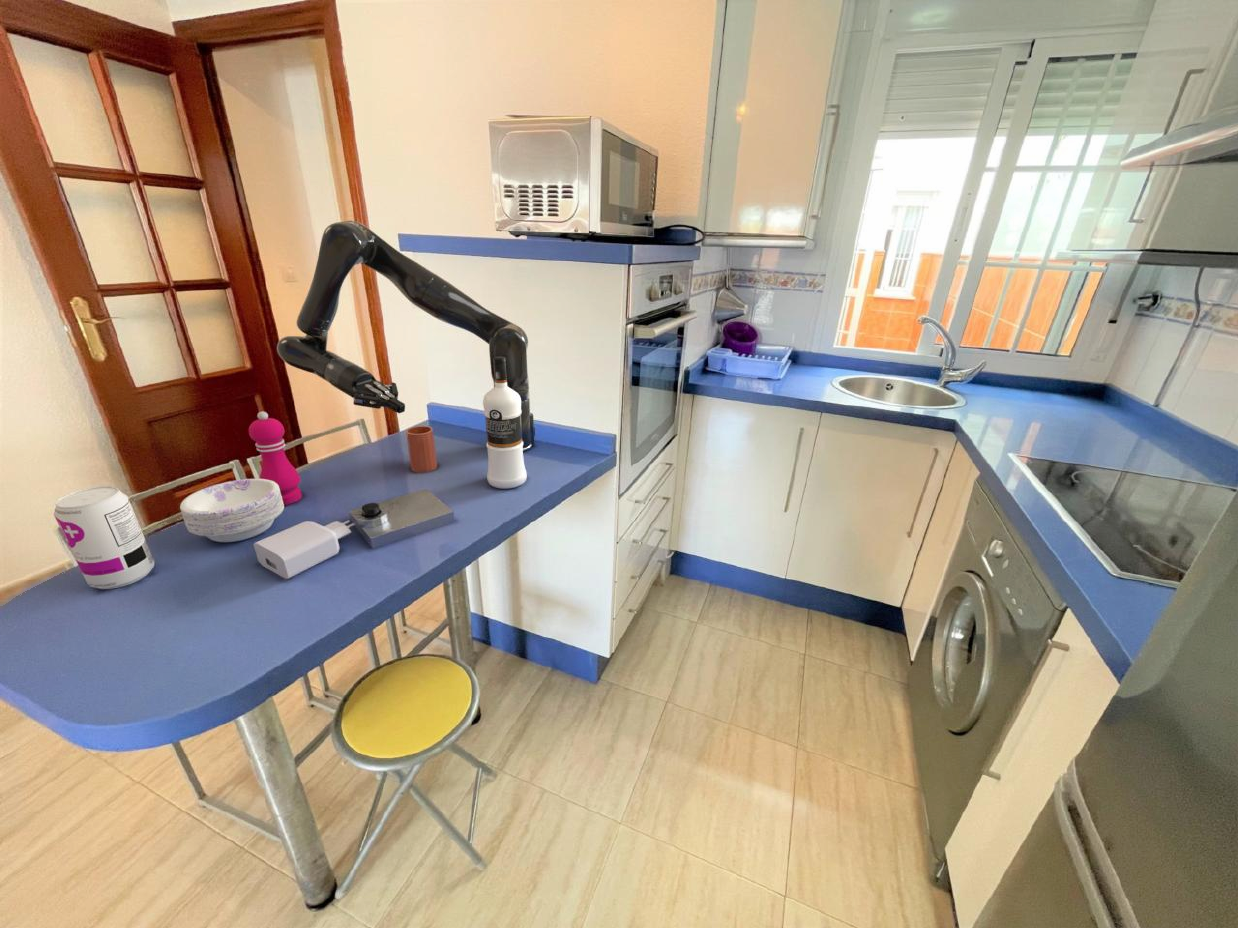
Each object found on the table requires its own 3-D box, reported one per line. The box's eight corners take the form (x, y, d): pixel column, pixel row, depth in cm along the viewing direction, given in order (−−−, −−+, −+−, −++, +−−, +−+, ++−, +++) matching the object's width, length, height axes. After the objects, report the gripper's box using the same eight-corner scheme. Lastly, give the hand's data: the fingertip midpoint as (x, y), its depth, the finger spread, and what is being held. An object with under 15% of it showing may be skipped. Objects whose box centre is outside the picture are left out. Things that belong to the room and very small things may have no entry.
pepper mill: (311, 493, 112) (290, 407, 104) (289, 508, 105) (265, 418, 97) (281, 490, 113) (258, 405, 104) (257, 506, 106) (230, 416, 98)
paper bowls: (258, 504, 107) (248, 470, 103) (305, 522, 101) (296, 487, 98) (174, 538, 94) (160, 500, 91) (222, 560, 88) (208, 521, 85)
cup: (431, 460, 130) (426, 424, 126) (441, 468, 126) (436, 431, 122) (407, 466, 126) (402, 429, 122) (417, 474, 122) (411, 436, 118)
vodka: (534, 477, 123) (528, 355, 111) (513, 493, 115) (505, 363, 103) (501, 471, 126) (493, 351, 114) (479, 485, 118) (468, 358, 106)
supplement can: (99, 598, 78) (59, 514, 72) (82, 579, 82) (42, 499, 76) (164, 572, 85) (132, 493, 79) (144, 556, 89) (112, 480, 83)
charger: (369, 540, 96) (289, 581, 84) (339, 526, 100) (259, 564, 88) (365, 518, 94) (282, 557, 82) (334, 505, 98) (251, 541, 86)
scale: (428, 498, 112) (426, 482, 110) (454, 521, 103) (452, 504, 101) (348, 522, 101) (344, 504, 100) (370, 550, 93) (366, 531, 91)
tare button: (377, 509, 99) (375, 501, 99) (382, 514, 97) (381, 507, 97) (361, 513, 97) (359, 505, 97) (366, 519, 95) (364, 511, 95)
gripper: (326, 370, 118) (382, 403, 114) (372, 359, 129) (424, 389, 125) (325, 398, 122) (379, 431, 118) (370, 384, 133) (421, 414, 129)
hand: (402, 409), depth 122 cm, fingers closed
